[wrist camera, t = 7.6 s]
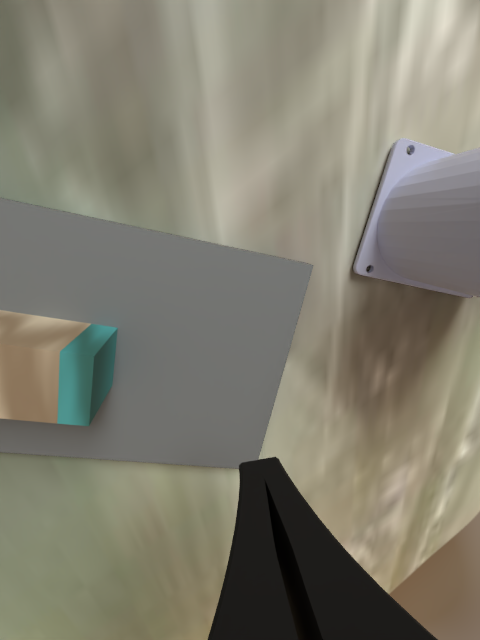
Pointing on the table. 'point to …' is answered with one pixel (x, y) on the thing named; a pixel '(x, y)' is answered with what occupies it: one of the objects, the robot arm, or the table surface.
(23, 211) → the slate board
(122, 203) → the table surface
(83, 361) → the birch block
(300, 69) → the table surface
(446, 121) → the table surface
